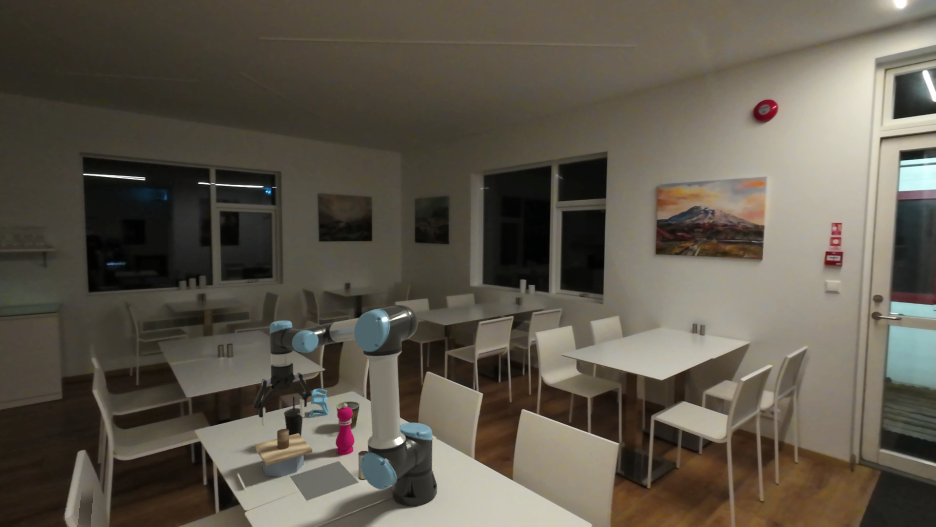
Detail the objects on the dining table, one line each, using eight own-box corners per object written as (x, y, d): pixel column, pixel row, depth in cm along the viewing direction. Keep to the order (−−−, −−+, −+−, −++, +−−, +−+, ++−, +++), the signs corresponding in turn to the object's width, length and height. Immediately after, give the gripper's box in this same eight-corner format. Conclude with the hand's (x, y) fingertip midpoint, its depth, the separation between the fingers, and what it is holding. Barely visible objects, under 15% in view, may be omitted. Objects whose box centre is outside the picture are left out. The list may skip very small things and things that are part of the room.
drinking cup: (307, 440, 189) (306, 393, 187) (298, 449, 181) (298, 400, 180) (290, 439, 189) (289, 392, 188) (280, 447, 182) (280, 399, 180)
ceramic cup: (335, 424, 205) (334, 402, 204) (357, 420, 209) (357, 399, 208) (339, 436, 193) (339, 413, 192) (363, 432, 197) (362, 410, 196)
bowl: (307, 470, 165) (307, 451, 165) (269, 482, 157) (269, 462, 157) (296, 456, 176) (295, 438, 175) (260, 466, 168) (259, 448, 167)
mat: (358, 483, 157) (358, 482, 157) (306, 502, 146) (306, 500, 146) (338, 462, 171) (338, 461, 171) (290, 477, 160) (290, 476, 160)
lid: (312, 452, 165) (312, 433, 164) (265, 465, 155) (265, 445, 154) (298, 436, 177) (298, 418, 177) (254, 447, 167) (254, 429, 167)
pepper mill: (331, 454, 177) (331, 404, 176) (344, 446, 184) (344, 398, 182) (345, 458, 174) (345, 408, 173) (358, 450, 180) (358, 402, 179)
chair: (327, 417, 213) (327, 392, 212) (308, 417, 211) (308, 392, 211) (329, 410, 220) (329, 386, 219) (312, 411, 219) (312, 387, 218)
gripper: (312, 355, 174) (314, 409, 175) (242, 367, 159) (244, 425, 160) (319, 360, 168) (320, 415, 170) (246, 372, 153) (248, 433, 154)
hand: (283, 420), depth 165 cm, fingers open, 13 cm apart
